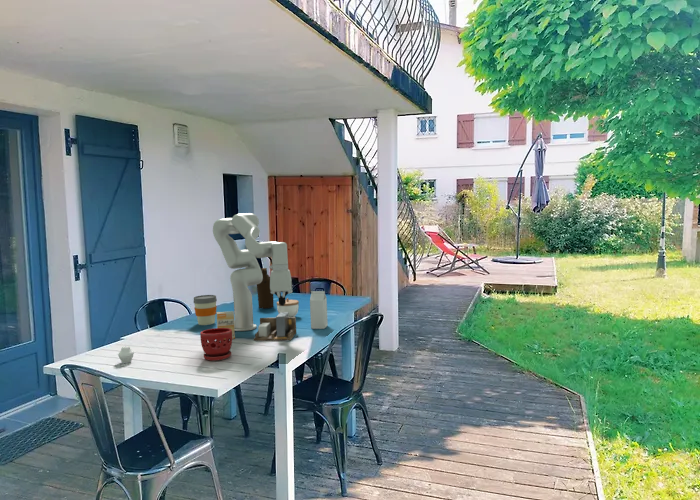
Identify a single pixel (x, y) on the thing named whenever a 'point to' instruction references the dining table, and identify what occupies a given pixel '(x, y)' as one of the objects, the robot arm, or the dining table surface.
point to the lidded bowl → (289, 307)
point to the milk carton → (318, 310)
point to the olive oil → (265, 291)
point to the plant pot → (216, 343)
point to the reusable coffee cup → (205, 309)
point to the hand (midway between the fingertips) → (282, 305)
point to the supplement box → (226, 321)
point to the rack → (273, 330)
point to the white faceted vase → (126, 354)
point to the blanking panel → (282, 324)
